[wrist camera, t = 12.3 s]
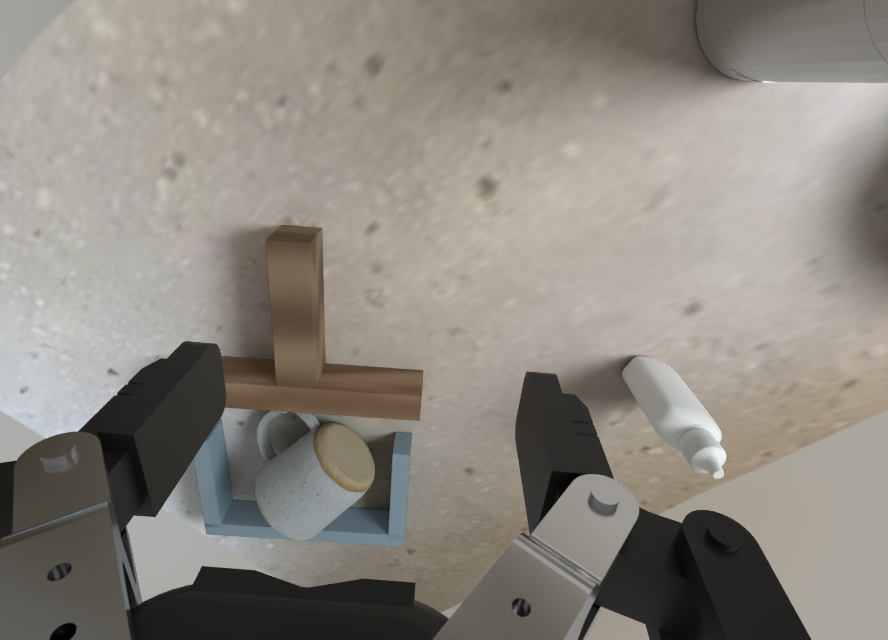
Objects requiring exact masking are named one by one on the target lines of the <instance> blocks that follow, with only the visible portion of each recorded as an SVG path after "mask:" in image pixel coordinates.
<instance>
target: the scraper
mask: <svg viewBox="0 0 888 640" xmlns="http://www.w3.org/2000/svg"><path fill="white" fill-rule="evenodd" d="M265 241H266V254H267V267H268V280H269V293H270V306H271V319H272V332H273V345H274V358H275V360H271V359H257V358H243V357H229V356H221V360H222V367H223V374H224V381H225V387H226V404H225V407H226V408H240V409H255V410H270V411H284V412H299V413H314V414H328V415H343V416H358V417H372V418H387V419H402V420H416V421H420V409H421V396H422V382H423V370H410V369H396V368H382V367H368V366H354V365H341V364H327V363H325V323H324V283H323V243H322V228H314V227H302V226H289V225H282V226H281V227H280V228H278V229H277V230H276V231H275V232H274V233H273V234H272V235H271V236H270V237H268V238H267V239H266V240H265Z"/></svg>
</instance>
